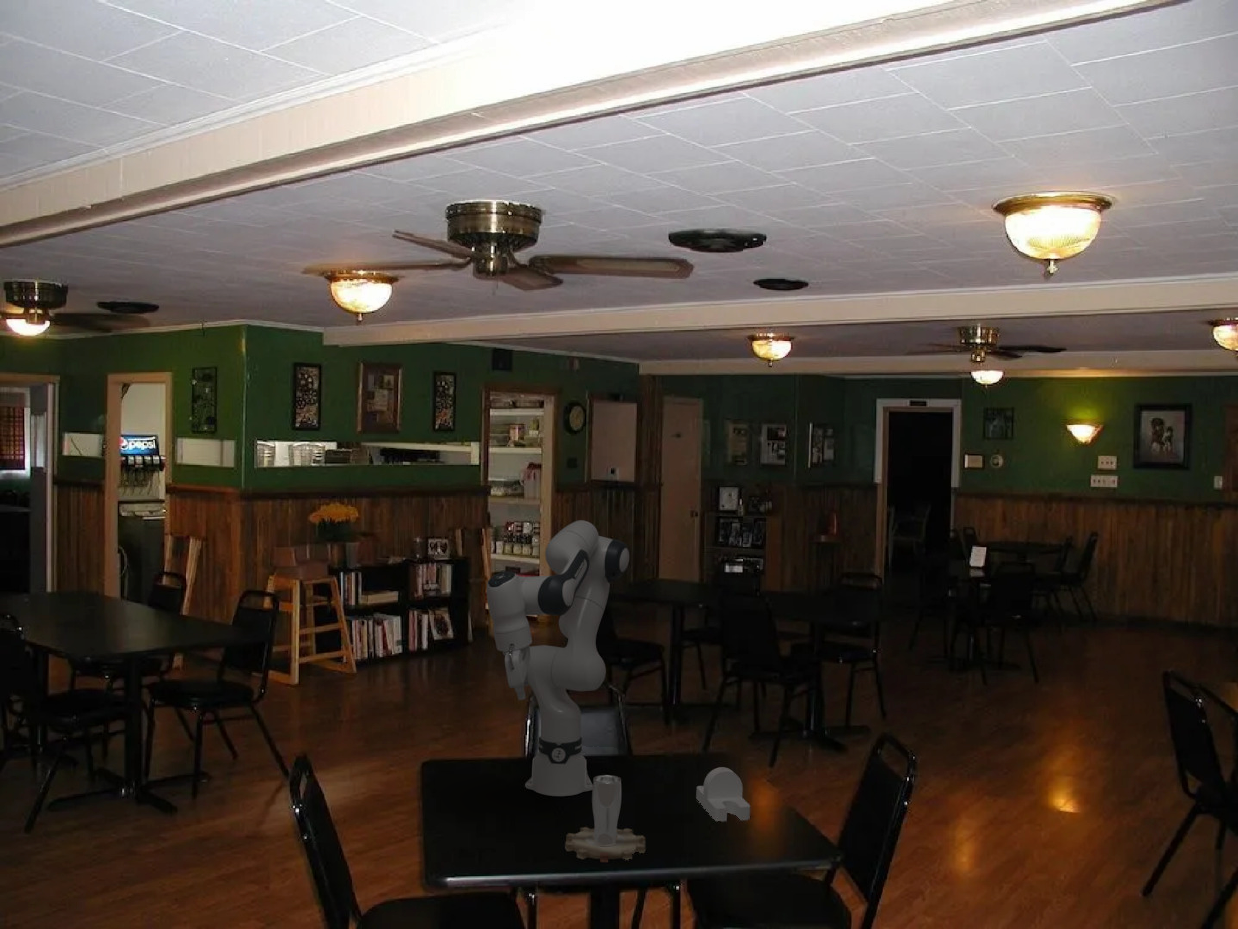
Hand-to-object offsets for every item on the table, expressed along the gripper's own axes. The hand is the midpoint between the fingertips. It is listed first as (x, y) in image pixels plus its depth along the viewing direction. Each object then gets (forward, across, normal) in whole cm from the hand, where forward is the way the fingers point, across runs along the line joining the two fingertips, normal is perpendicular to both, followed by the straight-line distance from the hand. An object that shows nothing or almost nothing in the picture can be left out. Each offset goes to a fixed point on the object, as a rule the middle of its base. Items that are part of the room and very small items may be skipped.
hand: (524, 692), depth 272 cm
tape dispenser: (+46, +14, -43) cm, 65 cm away
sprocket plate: (+36, -14, -14) cm, 41 cm away
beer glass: (+35, -15, -14) cm, 41 cm away
